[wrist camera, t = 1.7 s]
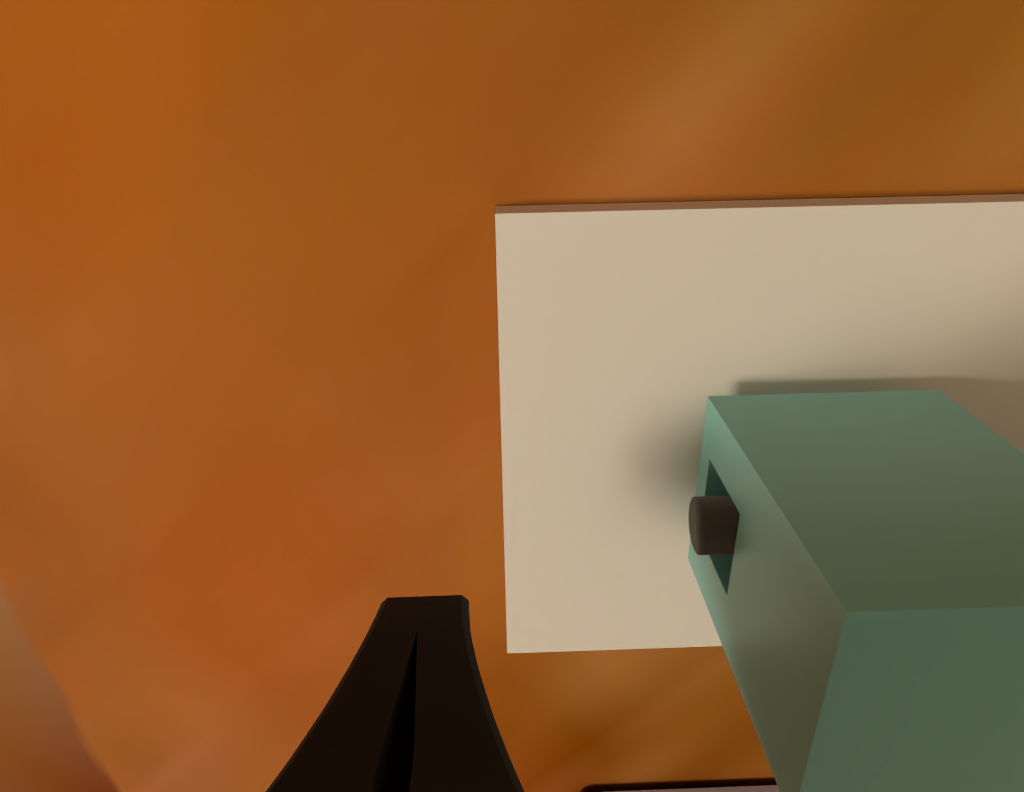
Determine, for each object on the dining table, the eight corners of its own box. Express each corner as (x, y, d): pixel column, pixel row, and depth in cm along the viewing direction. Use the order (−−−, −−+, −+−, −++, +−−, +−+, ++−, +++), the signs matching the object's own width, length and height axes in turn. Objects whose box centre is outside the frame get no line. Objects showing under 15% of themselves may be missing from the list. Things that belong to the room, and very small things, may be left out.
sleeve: (891, 551, 17) (1100, 808, 11) (688, 558, 17) (791, 821, 11) (938, 389, 15) (1221, 599, 9) (707, 396, 15) (846, 611, 9)
